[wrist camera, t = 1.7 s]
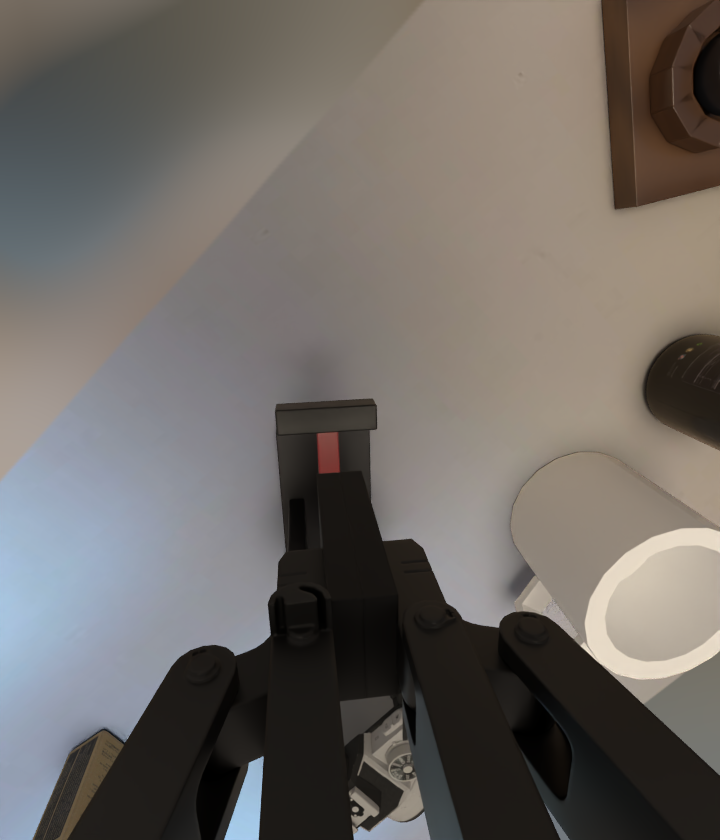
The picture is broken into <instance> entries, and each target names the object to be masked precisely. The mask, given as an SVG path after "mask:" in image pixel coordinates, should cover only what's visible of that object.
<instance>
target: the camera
mask: <svg viewBox="0 0 720 840" xmlns="http://www.w3.org/2000/svg"><path fill="white" fill-rule="evenodd" d="M340 708H341V718H342V728H343V738H344V748H345V758H346V768H347V778H348V788H349V798H350V808H351V818H352V827H353V834H355V833H356V832H357V831H358V829H357V828H358V827H361V828H363V829H365V830H367V831H369V832H370V831H371V830H372V829H373V828H374V827H376V826H377V825H378V824H379V823H381V822H382V821H383V820H384V819H385V818H387V817H388V818H390V819H392V820H394V821H398V822H409V821H412V820H414V819H415V818H417V817H419V816H420V815H421V814H422V813H423V812H424V807H423V803H422V799H421V794H420V790H419V785H418V781H417V776H416V772H415V768H414V763H413V759H412V754H411V750H410V745H409V741H408V740H406V741H403V696H402V692H401V687H400V683H399V695H390V696H382V697H374V698H365V699H357V700H348V701H340Z"/></svg>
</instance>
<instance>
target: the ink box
mask: <svg viewBox="0 0 720 840" xmlns="http://www.w3.org/2000/svg"><path fill="white" fill-rule="evenodd" d="M123 746H124V744H122V743H121V742H120V741H119V740H117V739H116V738H115V737H114V736H112V735H111V734H110V733H109V732H107V731H104V730H103V731H101V732H99V733H98V734H96V735H95V736H93V737H92V738H90V739H89V740H88V741H86V742H85V743H83V744H82V745H80V746H79V747H77V748H76V749H74V750H73V751H71V752H70V754H69V755H68V757H67V760H66V762H65V764H64V767H63V769H62V772H61V774H60V776H59V779H58V781H57V783H56V785H55V788H54V790H53V793H52V795H51V797H50V800H49V802H48V804H47V807H46V809H45V811H44V814H43V816H42V818H41V821H40V823H39V825H38V828H37V830H36V833H35V835H34V837H33V840H67V839H68V837H69V835H70V834H71V832H72V830H73V829H74V827H75V825H76V824H77V822H78V821H79V819H80V817H81V816H82V814H83V812H84V811H85V809H86V807H87V806H88V804H89V802H90V801H91V799H92V797H93V796H94V794H95V792H96V791H97V789H98V787H99V786H100V784H101V782H102V781H103V779H104V777H105V776H106V774H107V773H108V771H109V769H110V768H111V766H112V764H113V763H114V761H115V759H116V758H117V756H118V754H119V753H120V751H121V749H122V748H123Z"/></svg>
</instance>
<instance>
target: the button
mask: <svg viewBox="0 0 720 840" xmlns="http://www.w3.org/2000/svg"><path fill="white" fill-rule="evenodd" d="M695 91H696V95H697V98H698V100H699V102H700V103H701V105H702V106H703V107H704V108H705V109H706V110H707V111H708V112H710V113H712V114H714V115H717V116H720V33H719V34H718V35H716V36H715V37H714V38H713V39H712V40H711V41H710V42H709V43H708V45H707V46H706V47H705V49H704V50H703V52H702V54H701V56H700V58H699V61H698V63H697V67H696V71H695Z"/></svg>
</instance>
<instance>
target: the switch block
mask: <svg viewBox="0 0 720 840" xmlns="http://www.w3.org/2000/svg"><path fill="white" fill-rule="evenodd" d="M602 10H603V25H604V41H605V57H606V73H607V89H608V104H609V120H610V136H611V152H612V168H613V183H614V199H615V209H620V208H629V207H638V206H641V205H645V204H649V203H653V202H657V201H661V200H665V199H669V198H673V197H676V196H680V195H684V194H688V193H692V192H696V191H700V190H704V189H708V188H711V187H715V186H719V185H720V116H717V115H714V114H712V113H710V112H708V111H707V110H706V109H705V108H704V107H703V106H702V105H701V103H700V102H699V100H698V98H697V95H696V91H695V71H696V67H697V63H698V61H699V58H700V56H701V54H702V52H703V50H704V49H705V47H706V46H707V45H708V43H709V42H710V41H711V40H712V39H713V38H714V37H715V36H716V35H718V34H719V33H720V0H602Z"/></svg>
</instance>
